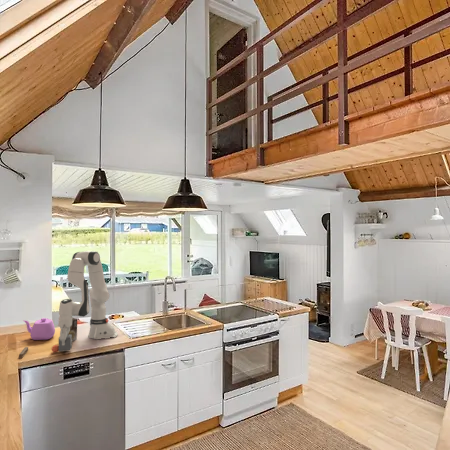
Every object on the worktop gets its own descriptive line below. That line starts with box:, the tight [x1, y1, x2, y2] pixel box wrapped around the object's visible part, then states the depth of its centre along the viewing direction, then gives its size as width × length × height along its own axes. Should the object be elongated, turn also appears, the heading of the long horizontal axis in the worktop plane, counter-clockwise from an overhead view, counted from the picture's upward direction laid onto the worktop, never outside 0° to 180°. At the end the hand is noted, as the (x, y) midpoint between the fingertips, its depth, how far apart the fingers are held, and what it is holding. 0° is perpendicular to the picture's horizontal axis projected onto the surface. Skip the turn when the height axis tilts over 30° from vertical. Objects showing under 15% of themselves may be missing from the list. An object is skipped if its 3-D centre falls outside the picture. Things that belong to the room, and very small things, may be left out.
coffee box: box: [68, 317, 78, 342], centre depth 266 cm, size 9×6×16 cm
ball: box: [51, 344, 60, 353], centre depth 240 cm, size 5×5×5 cm
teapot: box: [22, 317, 56, 341], centre depth 271 cm, size 23×21×15 cm
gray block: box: [58, 334, 73, 352], centre depth 242 cm, size 7×7×9 cm
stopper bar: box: [18, 346, 29, 359], centre depth 235 cm, size 2×14×2 cm, turn 17°
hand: (64, 342), depth 242 cm, fingers closed on gray block, 7 cm apart
